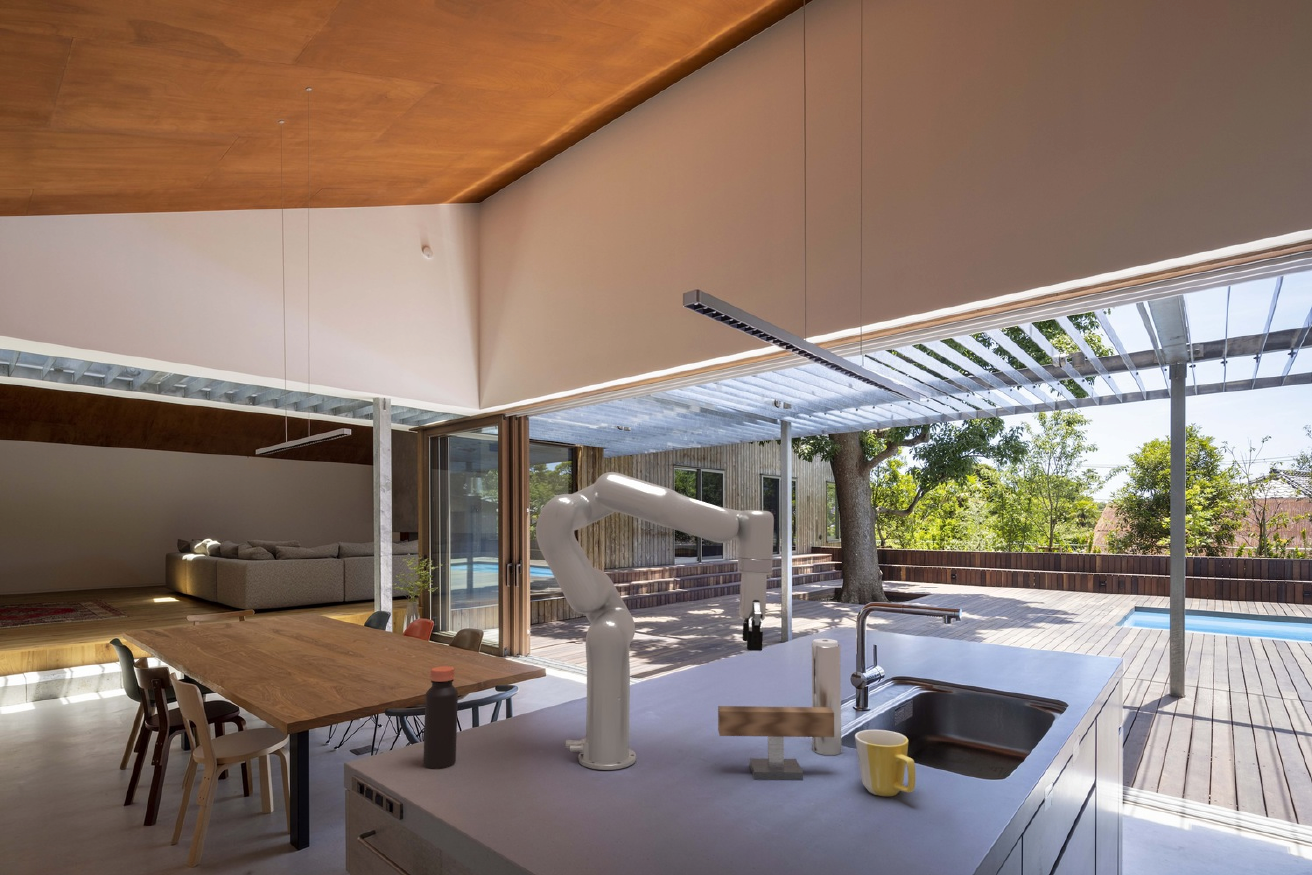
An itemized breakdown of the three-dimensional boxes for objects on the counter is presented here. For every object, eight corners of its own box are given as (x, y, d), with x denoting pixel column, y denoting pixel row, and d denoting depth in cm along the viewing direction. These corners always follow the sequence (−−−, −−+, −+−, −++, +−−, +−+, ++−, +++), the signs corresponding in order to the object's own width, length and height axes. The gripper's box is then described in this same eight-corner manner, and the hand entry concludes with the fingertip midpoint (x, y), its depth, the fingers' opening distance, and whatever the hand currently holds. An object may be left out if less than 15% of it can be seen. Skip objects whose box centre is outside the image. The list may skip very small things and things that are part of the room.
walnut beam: (719, 735, 154) (719, 711, 155) (718, 729, 158) (718, 705, 159) (834, 737, 154) (834, 712, 154) (829, 731, 158) (829, 707, 158)
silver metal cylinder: (842, 756, 165) (840, 643, 168) (812, 754, 167) (811, 641, 169) (840, 747, 172) (839, 638, 174) (812, 745, 173) (811, 636, 175)
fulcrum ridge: (754, 779, 151) (754, 739, 152) (749, 765, 159) (749, 727, 160) (803, 779, 151) (802, 739, 152) (795, 765, 159) (795, 727, 160)
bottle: (416, 765, 157) (419, 670, 159) (439, 756, 163) (442, 663, 165) (439, 771, 154) (443, 673, 156) (462, 761, 160) (465, 667, 162)
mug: (846, 783, 150) (846, 730, 151) (892, 779, 152) (891, 727, 153) (879, 811, 137) (879, 752, 138) (929, 807, 139) (928, 749, 140)
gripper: (734, 562, 171) (731, 637, 169) (741, 569, 153) (738, 653, 152) (767, 563, 170) (764, 639, 169) (777, 571, 153) (774, 655, 152)
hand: (752, 645), depth 161 cm, fingers open, 9 cm apart
